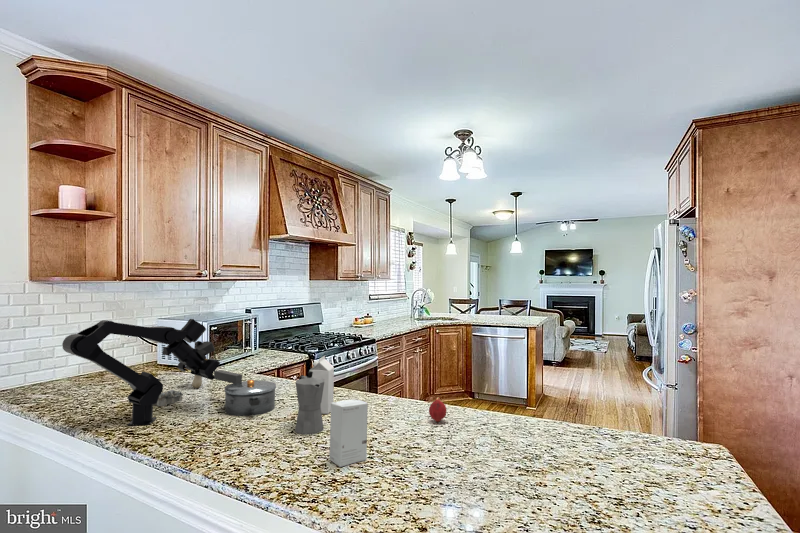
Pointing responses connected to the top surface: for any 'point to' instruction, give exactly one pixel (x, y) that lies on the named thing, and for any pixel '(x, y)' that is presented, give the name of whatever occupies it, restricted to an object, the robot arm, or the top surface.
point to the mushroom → (197, 381)
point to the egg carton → (169, 397)
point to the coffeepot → (309, 404)
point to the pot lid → (243, 384)
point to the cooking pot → (249, 404)
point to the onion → (437, 410)
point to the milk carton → (325, 382)
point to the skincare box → (348, 432)
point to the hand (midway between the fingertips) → (213, 378)
